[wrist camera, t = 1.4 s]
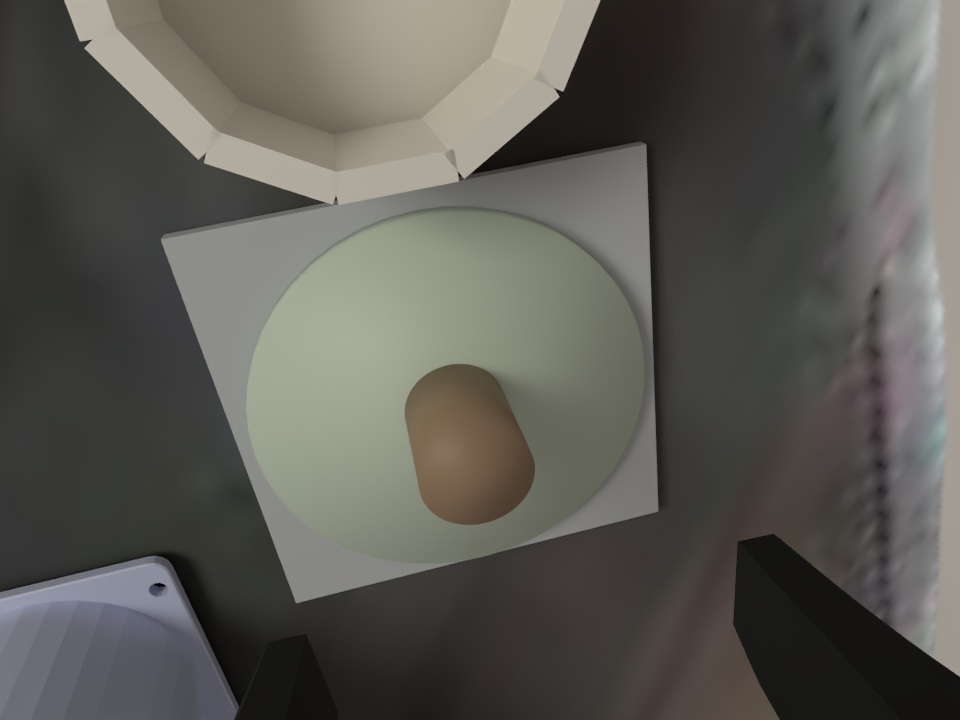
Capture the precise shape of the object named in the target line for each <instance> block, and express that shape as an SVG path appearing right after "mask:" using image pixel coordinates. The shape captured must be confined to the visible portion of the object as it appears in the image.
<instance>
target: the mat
mask: <svg viewBox="0 0 960 720" xmlns="http://www.w3.org/2000/svg"><path fill="white" fill-rule="evenodd" d="M444 206H475V207H483V208H490V209H498V210H503V211H507V212H510V213H514V214H518V215H521V216H525V217H528V218H530V219H533V220H535V221H537V222H540V223H542V224H544V225H547V226H549V227H551V228H553V229H555V230H556V231H558V232H559V233H561V234H563V235H564V236H566V237H568V238H569V239H571V240H572V241H574V242H575V243H576V244H577V245H579V246H580V247H581V248H582V249H583V250H584V251H586V252H587V253H588V254H589V255H590V256H592V257H593V258H594V259H595V260H596V261H597V262H598V263H599V264H600V265H601V267H602V268H603V269H604V270H605V271H606V272H607V273H608V275H609V276H610V277H611V278H612V279H613V280H614V281H615V283H616V284H617V286H618V287H619V289H620V291H621V292H622V294H623V295H624V297H625V298H626V300H627V302H628V304H629V306H630V308H631V311H632V313H633V315H634V318H635V320H636V322H637V326H638V330H639V333H640V337H641V341H642V345H643V354H644V363H645V375H644V391H643V397H642V403H641V408H640V412H639V415H638V418H637V421H636V425H635V428H634V431H633V433H632V435H631V437H630V440H629V442H628V444H627V446H626V448H625V450H624V452H623V454H622V455H621V457H620V459H619V460H618V462H617V463H616V465H615V467H614V468H613V470H612V471H611V472H610V474H609V475H608V476H607V478H606V479H605V480H604V481H603V483H602V484H601V485H600V486H599V488H598V489H597V490H596V491H595V492H594V493H593V494H592V495H591V496H590V497H589V498H588V499H587V500H586V501H585V502H584V503H583V504H582V505H580V506H579V507H578V508H577V509H576V510H574V511H573V512H572V513H571V514H570V515H568V516H567V517H566V518H565V519H563V520H562V521H560V522H559V523H557V524H556V525H554V526H553V527H551V528H550V529H548V530H547V531H545V532H543V533H541V534H539V535H537V536H535V537H534V538H532V539H530V540H528V541H526V542H523V543H521V544H519V545H516V546H514V547H511V548H509V549H512V548H516V547H520V546H524V545H528V544H532V543H536V542H540V541H544V540H548V539H552V538H555V537H559V536H563V535H567V534H571V533H575V532H579V531H583V530H587V529H591V528H595V527H599V526H603V525H607V524H611V523H615V522H619V521H623V520H627V519H631V518H634V517H638V516H642V515H646V514H650V513H654V512H658V485H657V454H656V424H655V394H654V363H653V333H652V303H651V273H650V242H649V212H648V182H647V151H646V144H644V143H642V142H635V143H630V144H625V145H619V146H614V147H609V148H604V149H599V150H594V151H589V152H584V153H579V154H573V155H568V156H563V157H558V158H553V159H548V160H543V161H538V162H532V163H527V164H522V165H517V166H512V167H507V168H502V169H497V170H492V171H486V172H481V173H476V174H471V175H468V176H467V177H466V178H465V179H464V178H463V177H462V176H461V177H459V182H454V183H449V184H444V185H439V186H434V187H429V188H423V189H418V190H413V191H408V192H403V193H398V194H393V195H388V196H383V197H378V198H372V199H367V200H362V201H357V202H352V203H347V204H342V205H339V204H338V201H334V202H333V205H332V204H329V203H323V204H318V205H312V206H307V207H302V208H297V209H292V210H287V211H282V212H277V213H272V214H266V215H261V216H256V217H251V218H246V219H241V220H236V221H231V222H225V223H220V224H215V225H210V226H205V227H200V228H195V229H190V230H185V231H179V232H174V233H169V234H164V235H163V237H162V238H161V242H162V245H163V247H164V250H165V253H166V255H167V258H168V261H169V263H170V266H171V269H172V271H173V274H174V277H175V279H176V282H177V285H178V287H179V290H180V293H181V296H182V298H183V301H184V304H185V306H186V309H187V312H188V314H189V317H190V320H191V322H192V325H193V328H194V330H195V333H196V336H197V338H198V341H199V344H200V346H201V349H202V352H203V355H204V357H205V360H206V363H207V365H208V368H209V371H210V373H211V376H212V379H213V381H214V384H215V387H216V389H217V392H218V395H219V397H220V400H221V403H222V405H223V408H224V411H225V414H226V416H227V419H228V422H229V424H230V427H231V430H232V432H233V435H234V438H235V440H236V443H237V446H238V448H239V451H240V454H241V456H242V459H243V462H244V464H245V467H246V470H247V473H248V475H249V478H250V481H251V483H252V486H253V489H254V491H255V494H256V497H257V499H258V502H259V505H260V507H261V510H262V513H263V515H264V518H265V521H266V523H267V526H268V529H269V531H270V534H271V537H272V540H273V542H274V545H275V548H276V550H277V553H278V556H279V558H280V561H281V564H282V566H283V569H284V572H285V574H286V577H287V580H288V582H289V585H290V588H291V590H292V593H293V596H294V599H295V601H296V603H299V602H303V601H307V600H310V599H314V598H318V597H322V596H326V595H330V594H334V593H338V592H342V591H346V590H350V589H354V588H358V587H362V586H366V585H370V584H374V583H378V582H382V581H386V580H389V579H393V578H397V577H401V576H405V575H409V574H413V573H417V572H421V571H425V570H429V569H433V568H437V567H441V566H445V565H449V564H453V563H457V562H448V563H406V562H397V561H390V560H385V559H381V558H376V557H371V556H368V555H365V554H362V553H359V552H356V551H353V550H350V549H348V548H346V547H343V546H341V545H339V544H337V543H335V542H333V541H331V540H329V539H327V538H326V537H324V536H322V535H321V534H319V533H318V532H316V531H315V530H313V529H312V528H310V527H309V526H307V525H306V524H305V523H304V522H303V521H302V520H300V519H299V518H298V517H297V516H296V515H295V514H293V513H292V512H291V511H290V510H289V508H288V507H287V506H286V505H285V504H284V503H283V502H282V501H281V499H280V498H279V497H278V496H277V495H276V493H275V492H274V490H273V489H272V487H271V486H270V484H269V483H268V481H267V479H266V478H265V476H264V474H263V472H262V470H261V468H260V465H259V463H258V461H257V459H256V457H255V454H254V450H253V447H252V443H251V439H250V436H249V431H248V422H247V413H246V401H247V383H248V378H249V373H250V368H251V363H252V358H253V354H254V349H255V347H256V344H257V341H258V338H259V336H260V333H261V330H262V328H263V325H264V323H265V322H266V320H267V318H268V316H269V314H270V313H271V311H272V309H273V307H274V305H275V303H276V302H277V301H278V299H279V298H280V297H281V295H282V294H283V293H284V291H285V290H286V289H287V287H288V286H289V285H290V283H291V282H292V281H293V280H294V279H295V278H296V277H297V276H298V275H299V274H300V273H301V272H302V271H303V270H304V269H305V268H306V267H307V266H308V265H309V264H310V263H311V262H312V261H313V260H314V259H315V258H317V257H318V256H319V255H321V254H322V253H323V252H325V251H326V250H327V249H328V248H330V247H331V246H332V245H334V244H335V243H337V242H338V241H340V240H342V239H344V238H345V237H347V236H349V235H351V234H352V233H354V232H356V231H358V230H359V229H361V228H364V227H366V226H369V225H371V224H374V223H376V222H379V221H381V220H383V219H386V218H389V217H392V216H396V215H400V214H404V213H407V212H411V211H415V210H421V209H429V208H436V207H444ZM507 550H508V549H507ZM464 561H465V560H464ZM458 562H461V561H458Z"/></svg>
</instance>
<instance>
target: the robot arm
mask: <svg viewBox="0 0 960 720" xmlns="http://www.w3.org/2000/svg"><path fill="white" fill-rule="evenodd" d="M155 583H162V584H165V585H166V586H165V587H158V586H155V585H154V584H155ZM733 625H734V627H735V629H736V632H737V634H738V636H739V639H740V641H741V643H742V646H743V648H744V650H745V653H746V655H747V657H748V659H749V662H750V664H751V666H752V668H753V670H754V673H755V675H756V677H757V679H758V681H759V684H760V686H761V687H762V689H763V691H764V693H765V694H766V696H767V698H768V700H769V701H770V703H771V705H772V707H773V708H774V710H775V712H776V714H777V715H778V717H779V719H780V720H960V677H959V676H958V675H956V674H955V673H953V672H952V671H950V670H949V669H948V668H946V667H945V666H943V665H942V664H941V663H939V662H938V661H936V660H935V659H933V658H932V657H930V656H929V655H928V654H926V653H925V652H923V651H922V650H921V649H919V648H918V647H917V646H915V645H914V644H912V643H911V642H910V641H908V640H907V639H906V638H904V637H903V636H902V635H900V634H899V633H898V632H896V631H895V630H894V629H892V628H891V627H890V626H888V625H887V624H886V623H884V622H883V621H882V620H880V619H879V618H878V617H876V616H875V615H874V614H872V613H871V612H870V611H869V610H867V609H866V608H865V607H863V606H862V605H861V604H860V603H858V602H857V601H856V600H854V599H853V598H852V597H851V596H849V595H848V594H847V593H846V592H844V591H843V590H842V589H841V588H839V587H838V586H837V585H836V584H834V583H833V582H832V581H831V580H829V579H828V578H827V577H826V576H825V575H823V574H822V573H821V572H820V571H818V570H817V569H816V568H815V567H814V566H812V565H811V564H810V563H809V562H807V561H806V560H805V559H804V558H803V557H801V556H800V555H799V554H798V553H797V552H795V551H794V550H793V549H792V548H791V547H789V546H788V545H787V544H786V543H785V542H783V541H782V540H781V539H780V538H778V537H777V536H775V535H774V534H771V535H766V536H761V537H757V538H752V539H747V540H743V541H738V546H737V565H736V584H735V602H734V621H733ZM0 720H338V717H337V710H336V707H335V705H334V702H333V700H332V697H331V695H330V692H329V690H328V687H327V685H326V682H325V680H324V677H323V675H322V672H321V670H320V667H319V665H318V663H317V660H316V658H315V655H314V653H313V650H312V648H311V645H310V643H309V640H308V638H307V635H306V634H304V635H300V636H295V637H290V638H286V639H281V640H276V641H272V642H268V643H267V645H266V646H265V647H264V649H263V651H262V654H261V656H260V659H259V661H258V664H257V666H256V669H255V671H254V673H253V676H252V678H251V681H250V683H249V685H248V688H247V690H246V693H245V695H244V697H243V699H242V702H241V704H240V706H238V704H237V701H236V699H235V697H234V695H233V693H232V691H231V689H230V687H229V684H228V682H227V680H226V678H225V676H224V674H223V672H222V670H221V667H220V665H219V663H218V661H217V659H216V657H215V655H214V653H213V651H212V648H211V646H210V644H209V642H208V640H207V638H206V636H205V634H204V631H203V629H202V627H201V625H200V623H199V621H198V619H197V617H196V614H195V612H194V610H193V608H192V606H191V604H190V602H189V600H188V598H187V595H186V593H185V591H184V589H183V587H182V585H181V583H180V581H179V578H178V576H177V574H176V572H175V570H174V568H173V566H172V564H171V563H170V562H169V560H167V559H165V558H163V557H159V556H148V557H144V558H140V559H136V560H132V561H128V562H123V563H119V564H115V565H111V566H107V567H103V568H99V569H94V570H90V571H86V572H82V573H78V574H74V575H70V576H65V577H61V578H57V579H53V580H49V581H45V582H40V583H36V584H32V585H28V586H24V587H20V588H16V589H11V590H7V591H3V592H0Z"/></svg>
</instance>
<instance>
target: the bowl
mask: <svg viewBox="0 0 960 720" xmlns="http://www.w3.org/2000/svg"><path fill="white" fill-rule="evenodd" d="M64 1H65V3H66V6H67V9H68V11H69V14H70V17H71V19H72V22H73V25H74V27H75V30H76V33H77V35H78V38H79V40H80V41H86V40H92V39H93V40H92V41H91V42H90V43H89V44H88V45H87V46H86V47H85V49H86V50H87V51H88V52H89V53H90V54H91V55H92V56H93V57H94V58H95V59H96V60H97V61H98V62H99V63H100V64H101V65H102V66H103V67H104V68H105V69H106V70H107V71H108V72H109V73H110V74H111V75H112V76H113V77H114V78H115V79H116V80H117V81H118V82H119V83H120V84H122V85H123V86H124V87H125V88H126V89H127V90H128V91H129V92H130V93H131V94H132V95H133V96H134V97H135V98H136V99H137V100H138V101H139V102H140V103H141V104H142V105H143V106H144V107H145V108H146V109H147V110H148V111H149V112H150V113H151V114H152V115H153V116H154V117H155V118H156V119H157V120H158V121H159V122H160V123H161V124H162V125H163V126H164V127H165V128H167V129H168V130H169V131H170V132H171V133H172V134H173V135H174V136H175V137H176V138H177V139H178V140H179V141H180V142H181V143H182V144H183V145H184V146H185V147H186V148H187V149H188V150H189V151H190V152H191V153H192V154H193V155H194V156H195V157H196V158H197V159H199V158H200V157H202V156H203V155H204V154H205V153H206V152H207V153H206V157H205V161H204V163H205V164H209V165H212V166H215V167H218V168H221V169H224V170H227V171H230V172H233V173H236V174H239V175H242V176H246V177H249V178H252V179H255V180H258V181H261V182H264V183H267V184H270V185H273V186H276V187H280V188H283V189H286V190H289V191H292V192H295V193H298V194H301V195H304V196H307V197H310V198H313V199H317V200H320V201H323V202H326V203H329V204H332V205H333V202H334V199H335V196H337V200H338V204H339V205H342V204H347V203H352V202H357V201H362V200H367V199H372V198H378V197H383V196H388V195H393V194H398V193H403V192H408V191H413V190H418V189H423V188H429V187H434V186H439V185H444V184H449V183H454V182H459V177H458V172H459V173H460V174H461V176H462V177H463V178H464V179H465V178H466V177H467V176H468V175H469V174H471V173H472V172H473V171H474V170H475V169H476V168H478V167H479V166H480V165H481V164H482V163H483V162H485V161H486V160H487V159H488V158H489V157H490V156H492V155H493V154H494V153H495V152H496V151H497V150H499V149H500V148H501V147H502V146H503V145H504V144H505V143H507V142H508V141H509V140H510V139H511V138H512V137H514V136H515V135H516V134H517V133H518V132H519V131H521V130H522V129H523V128H524V127H525V126H526V125H528V124H529V123H530V122H531V121H532V120H533V119H535V118H536V117H537V116H538V115H539V114H540V113H542V112H543V111H544V110H545V109H546V108H547V107H548V106H550V105H551V104H552V103H553V102H554V101H555V100H557V99H558V98H559V97H560V96H559V95H558V94H557V92H556V91H555V89H558V90H560V91H564V89H565V86H566V84H567V81H568V79H569V77H570V74H571V72H572V69H573V67H574V64H575V62H576V59H577V57H578V54H579V52H580V49H581V47H582V44H583V42H584V40H585V37H586V35H587V32H588V30H589V27H590V25H591V22H592V20H593V17H594V15H595V12H596V10H597V7H598V5H599V3H600V0H64ZM554 88H555V89H554Z"/></svg>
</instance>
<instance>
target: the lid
mask: <svg viewBox="0 0 960 720" xmlns="http://www.w3.org/2000/svg"><path fill="white" fill-rule="evenodd" d="M644 375H645V363H644V354H643V345H642V341H641V337H640V333H639V330H638V326H637V322H636V320H635V318H634V315H633V313H632V311H631V308H630V306H629V304H628V302H627V300H626V298H625V297H624V295H623V294H622V292H621V291H620V289H619V287H618V286H617V284H616V283H615V281H614V280H613V279H612V278H611V277H610V276H609V275H608V273H607V272H606V271H605V270H604V269H603V268H602V267H601V265H600V264H599V263H598V262H597V261H596V260H595V259H594V258H593V257H592V256H590V255H589V254H588V253H587V252H586V251H584V250H583V249H582V248H581V247H580V246H579V245H577V244H576V243H575V242H574V241H572V240H571V239H569V238H568V237H566V236H564V235H563V234H561V233H559V232H558V231H556V230H555V229H553V228H551V227H549V226H547V225H544V224H542V223H540V222H537V221H535V220H533V219H530V218H528V217H525V216H521V215H518V214H514V213H510V212H507V211H503V210H498V209H490V208H483V207H475V206H444V207H436V208H429V209H421V210H415V211H411V212H407V213H404V214H400V215H396V216H392V217H389V218H386V219H383V220H381V221H379V222H376V223H374V224H371V225H369V226H366V227H364V228H361V229H359V230H358V231H356V232H354V233H352V234H351V235H349V236H347V237H345V238H344V239H342V240H340V241H338V242H337V243H335V244H334V245H332V246H331V247H330V248H328V249H327V250H326V251H325V252H323V253H322V254H321V255H319V256H318V257H317V258H315V259H314V260H313V261H312V262H311V263H310V264H309V265H308V266H307V267H306V268H305V269H304V270H303V271H302V272H301V273H300V274H299V275H298V276H297V277H296V278H295V279H294V280H293V281H292V282H291V283H290V285H289V286H288V287H287V289H286V290H285V291H284V293H283V294H282V295H281V297H280V298H279V299H278V301H277V302H276V303H275V305H274V307H273V309H272V311H271V313H270V314H269V316H268V318H267V320H266V322H265V323H264V325H263V328H262V330H261V333H260V336H259V338H258V341H257V344H256V347H255V349H254V354H253V358H252V363H251V368H250V373H249V378H248V383H247V401H246V413H247V422H248V431H249V436H250V439H251V443H252V447H253V450H254V454H255V457H256V459H257V461H258V463H259V465H260V468H261V470H262V472H263V474H264V476H265V478H266V479H267V481H268V483H269V484H270V486H271V487H272V489H273V490H274V492H275V493H276V495H277V496H278V497H279V498H280V499H281V501H282V502H283V503H284V504H285V505H286V506H287V507H288V508H289V510H290V511H291V512H292V513H293V514H295V515H296V516H297V517H298V518H299V519H300V520H302V521H303V522H304V523H305V524H306V525H307V526H309V527H310V528H312V529H313V530H315V531H316V532H318V533H319V534H321V535H322V536H324V537H326V538H327V539H329V540H331V541H333V542H335V543H337V544H339V545H341V546H343V547H346V548H348V549H350V550H353V551H356V552H359V553H362V554H365V555H368V556H371V557H376V558H381V559H385V560H390V561H397V562H406V563H448V562H458V561H464V560H469V559H474V558H479V557H484V556H487V555H491V554H494V553H497V552H500V551H504V550H507V549H509V548H511V547H514V546H516V545H519V544H521V543H523V542H526V541H528V540H530V539H532V538H534V537H535V536H537V535H539V534H541V533H543V532H545V531H547V530H548V529H550V528H551V527H553V526H554V525H556V524H557V523H559V522H560V521H562V520H563V519H565V518H566V517H567V516H568V515H570V514H571V513H572V512H573V511H574V510H576V509H577V508H578V507H579V506H580V505H582V504H583V503H584V502H585V501H586V500H587V499H588V498H589V497H590V496H591V495H592V494H593V493H594V492H595V491H596V490H597V489H598V488H599V486H600V485H601V484H602V483H603V481H604V480H605V479H606V478H607V476H608V475H609V474H610V472H611V471H612V470H613V468H614V467H615V465H616V463H617V462H618V460H619V459H620V457H621V455H622V454H623V452H624V450H625V448H626V446H627V444H628V442H629V440H630V437H631V435H632V433H633V431H634V428H635V425H636V421H637V418H638V415H639V412H640V408H641V403H642V397H643V391H644Z"/></svg>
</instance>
